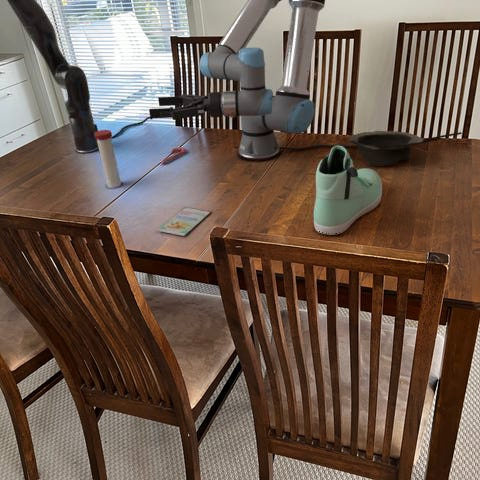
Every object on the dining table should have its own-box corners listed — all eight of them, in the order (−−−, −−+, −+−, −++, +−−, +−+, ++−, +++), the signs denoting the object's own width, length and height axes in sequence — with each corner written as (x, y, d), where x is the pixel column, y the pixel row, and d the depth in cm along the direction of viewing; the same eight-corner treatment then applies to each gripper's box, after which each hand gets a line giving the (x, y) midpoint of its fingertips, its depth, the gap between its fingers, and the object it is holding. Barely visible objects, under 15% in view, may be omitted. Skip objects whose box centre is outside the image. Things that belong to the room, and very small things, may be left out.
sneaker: (389, 187, 148) (396, 123, 138) (356, 242, 123) (361, 168, 112) (346, 181, 154) (350, 119, 144) (306, 232, 129) (307, 161, 118)
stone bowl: (381, 177, 154) (382, 149, 150) (333, 159, 175) (333, 134, 170) (437, 158, 163) (440, 131, 159) (386, 143, 183) (387, 119, 179)
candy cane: (151, 162, 180) (151, 158, 180) (178, 149, 190) (177, 145, 190) (163, 165, 177) (162, 161, 176) (189, 151, 187) (189, 147, 187)
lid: (93, 140, 154) (92, 136, 153) (96, 135, 158) (95, 130, 157) (110, 139, 154) (109, 134, 153) (113, 133, 158) (112, 129, 158)
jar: (106, 188, 163) (94, 136, 153) (108, 183, 167) (96, 132, 157) (120, 187, 163) (109, 135, 154) (122, 181, 167) (111, 130, 158)
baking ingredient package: (157, 229, 135) (185, 206, 146) (157, 231, 135) (185, 208, 146) (183, 235, 131) (210, 211, 142) (183, 236, 131) (210, 212, 143)
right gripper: (219, 129, 139) (147, 131, 140) (226, 105, 160) (163, 108, 162) (217, 102, 135) (143, 106, 137) (224, 82, 156) (160, 85, 158)
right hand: (154, 107), depth 149 cm, fingers open, 13 cm apart
